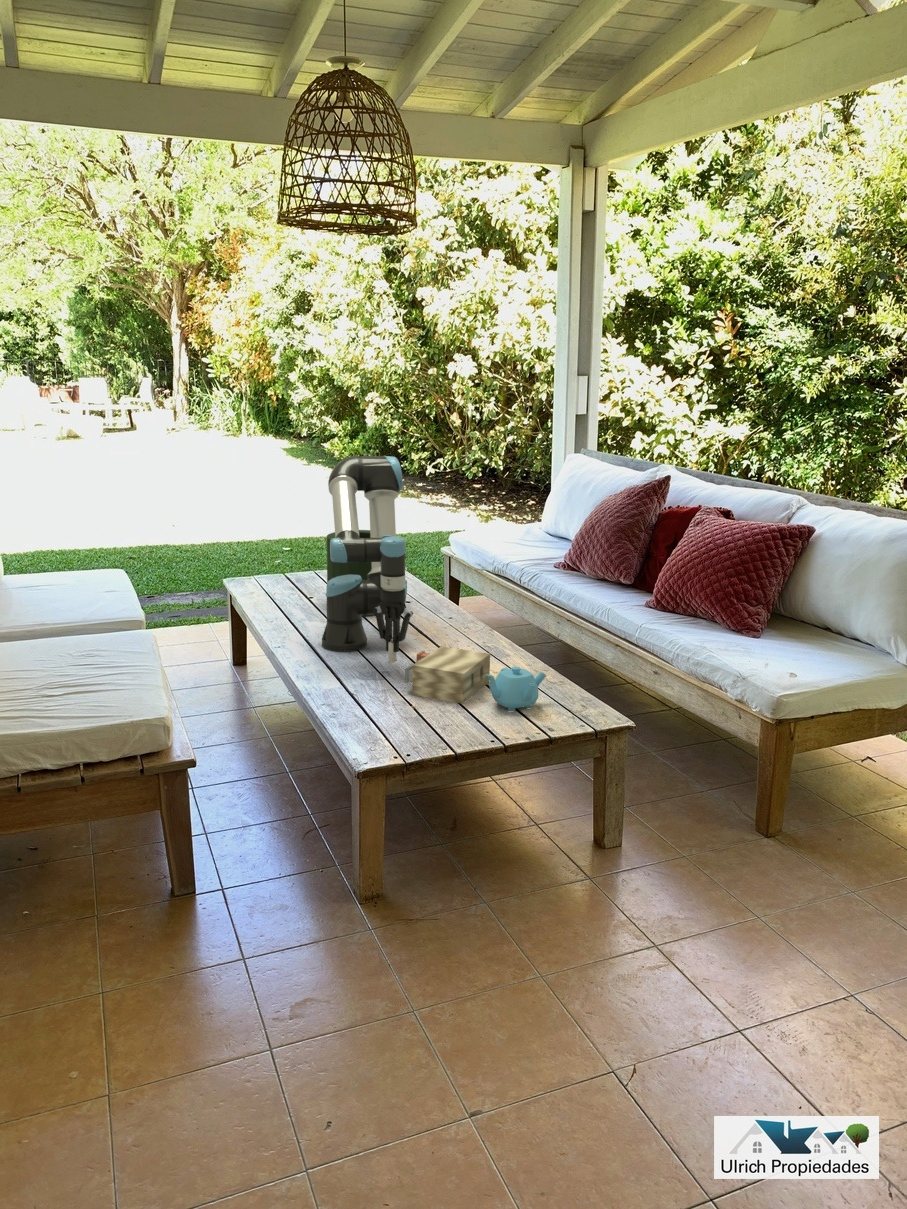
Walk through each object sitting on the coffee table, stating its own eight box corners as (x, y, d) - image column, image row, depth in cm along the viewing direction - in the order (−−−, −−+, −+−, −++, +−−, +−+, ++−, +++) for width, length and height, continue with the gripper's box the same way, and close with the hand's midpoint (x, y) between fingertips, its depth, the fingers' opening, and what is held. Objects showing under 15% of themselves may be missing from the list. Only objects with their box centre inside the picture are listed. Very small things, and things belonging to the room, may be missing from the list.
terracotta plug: (416, 666, 291) (416, 654, 290) (422, 663, 295) (422, 650, 294) (467, 675, 285) (468, 662, 284) (472, 671, 288) (473, 658, 287)
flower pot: (406, 606, 370) (407, 535, 362) (366, 621, 349) (366, 545, 342) (355, 596, 383) (354, 527, 375) (313, 610, 362) (312, 537, 355)
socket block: (412, 694, 277) (412, 665, 274) (440, 674, 294) (441, 646, 292) (463, 703, 271) (463, 673, 268) (489, 682, 288) (490, 653, 286)
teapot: (531, 718, 261) (533, 679, 258) (483, 711, 265) (484, 672, 262) (545, 700, 275) (547, 662, 272) (500, 693, 279) (501, 656, 276)
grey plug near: (404, 682, 278) (404, 669, 277) (410, 678, 281) (410, 665, 280) (458, 691, 271) (458, 678, 270) (463, 687, 275) (464, 674, 274)
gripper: (368, 588, 290) (368, 661, 297) (406, 593, 285) (406, 668, 292) (379, 582, 297) (379, 654, 303) (417, 587, 292) (416, 660, 298)
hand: (392, 661), depth 298 cm, fingers closed
